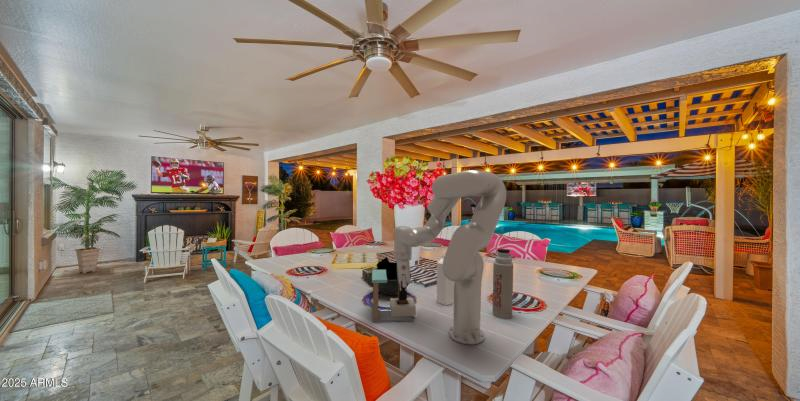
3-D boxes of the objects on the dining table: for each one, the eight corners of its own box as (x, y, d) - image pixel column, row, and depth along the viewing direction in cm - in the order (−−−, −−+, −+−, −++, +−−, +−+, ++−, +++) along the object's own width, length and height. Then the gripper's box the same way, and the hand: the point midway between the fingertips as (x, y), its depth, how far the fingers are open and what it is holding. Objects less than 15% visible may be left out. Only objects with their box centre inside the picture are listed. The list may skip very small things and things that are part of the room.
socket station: (416, 321, 118) (416, 279, 117) (371, 322, 117) (371, 280, 116) (411, 305, 134) (412, 268, 133) (372, 306, 133) (372, 269, 132)
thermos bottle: (501, 319, 120) (502, 252, 119) (488, 312, 127) (489, 248, 126) (516, 317, 123) (517, 250, 122) (503, 309, 130) (504, 247, 129)
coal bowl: (363, 296, 145) (364, 259, 144) (383, 285, 163) (383, 251, 162) (400, 304, 136) (400, 263, 135) (416, 290, 154) (417, 255, 153)
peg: (406, 308, 124) (407, 280, 124) (398, 309, 124) (398, 281, 123) (405, 305, 128) (406, 278, 127) (397, 305, 127) (398, 278, 127)
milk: (445, 306, 134) (446, 258, 133) (436, 301, 139) (436, 255, 138) (454, 302, 138) (455, 256, 137) (445, 299, 143) (446, 254, 142)
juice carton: (360, 277, 177) (361, 267, 177) (376, 276, 181) (376, 266, 181) (371, 288, 159) (371, 277, 158) (388, 286, 163) (388, 275, 162)
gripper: (414, 260, 117) (413, 305, 118) (409, 251, 133) (408, 291, 134) (395, 260, 116) (394, 305, 117) (392, 251, 133) (392, 291, 133)
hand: (402, 297), depth 125 cm, fingers closed on peg, 3 cm apart
